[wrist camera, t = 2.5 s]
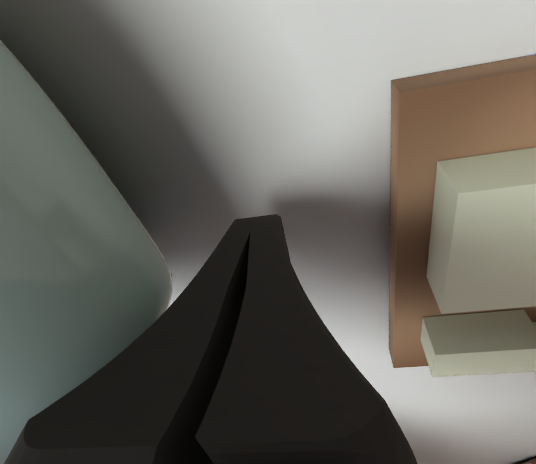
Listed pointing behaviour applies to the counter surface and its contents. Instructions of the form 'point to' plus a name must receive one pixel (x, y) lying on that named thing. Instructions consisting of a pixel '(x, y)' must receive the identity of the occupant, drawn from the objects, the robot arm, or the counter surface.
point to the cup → (62, 258)
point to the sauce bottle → (530, 461)
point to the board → (425, 165)
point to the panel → (483, 265)
